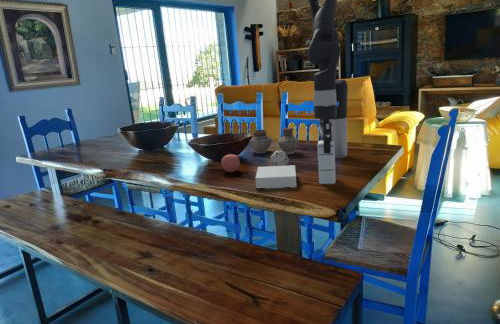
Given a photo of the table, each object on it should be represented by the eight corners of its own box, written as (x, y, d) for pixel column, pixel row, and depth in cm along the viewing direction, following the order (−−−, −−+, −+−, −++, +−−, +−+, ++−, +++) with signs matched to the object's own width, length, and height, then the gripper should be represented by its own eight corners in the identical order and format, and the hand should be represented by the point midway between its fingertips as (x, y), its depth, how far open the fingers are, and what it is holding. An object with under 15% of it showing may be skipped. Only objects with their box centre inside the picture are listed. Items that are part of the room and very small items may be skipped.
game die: (276, 176, 153) (265, 156, 156) (294, 168, 153) (284, 147, 156) (274, 172, 145) (263, 150, 147) (293, 163, 144) (282, 141, 147)
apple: (233, 175, 147) (232, 155, 145) (219, 173, 151) (217, 154, 149) (243, 170, 153) (242, 151, 151) (229, 168, 157) (227, 150, 155)
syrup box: (335, 183, 128) (335, 143, 124) (318, 184, 129) (317, 143, 125) (335, 178, 133) (334, 139, 130) (318, 179, 134) (317, 140, 131)
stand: (258, 176, 142) (258, 166, 141) (295, 175, 141) (294, 165, 140) (256, 188, 129) (255, 177, 128) (296, 187, 128) (295, 176, 127)
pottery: (295, 156, 169) (294, 130, 166) (246, 154, 180) (244, 130, 177) (302, 150, 179) (301, 126, 176) (255, 149, 190) (253, 126, 186)
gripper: (312, 102, 131) (313, 146, 135) (315, 106, 118) (316, 155, 122) (333, 101, 131) (334, 145, 135) (339, 105, 117) (339, 154, 121)
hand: (325, 150), depth 128 cm, fingers open, 8 cm apart
